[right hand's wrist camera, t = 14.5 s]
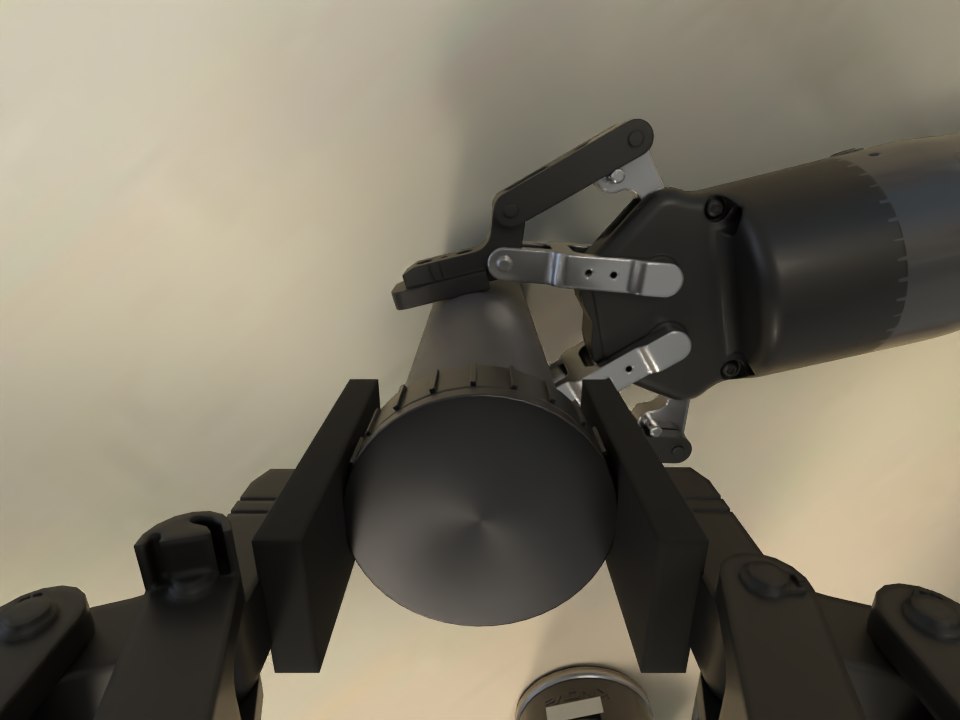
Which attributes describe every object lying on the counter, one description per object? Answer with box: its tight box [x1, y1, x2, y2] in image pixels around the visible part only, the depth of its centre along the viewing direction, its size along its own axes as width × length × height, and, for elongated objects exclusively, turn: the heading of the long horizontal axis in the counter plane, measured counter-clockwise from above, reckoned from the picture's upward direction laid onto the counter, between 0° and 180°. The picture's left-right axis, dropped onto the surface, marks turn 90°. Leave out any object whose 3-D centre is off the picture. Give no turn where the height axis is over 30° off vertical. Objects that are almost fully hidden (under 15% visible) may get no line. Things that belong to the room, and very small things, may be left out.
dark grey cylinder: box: [405, 280, 556, 388], centre depth 19 cm, size 5×5×17 cm
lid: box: [343, 362, 618, 626], centre depth 11 cm, size 6×6×2 cm
